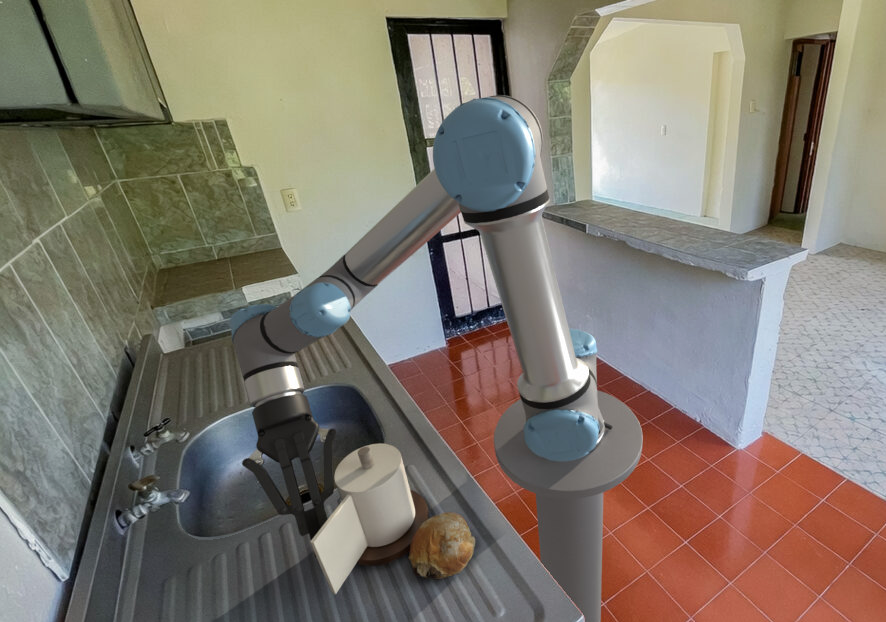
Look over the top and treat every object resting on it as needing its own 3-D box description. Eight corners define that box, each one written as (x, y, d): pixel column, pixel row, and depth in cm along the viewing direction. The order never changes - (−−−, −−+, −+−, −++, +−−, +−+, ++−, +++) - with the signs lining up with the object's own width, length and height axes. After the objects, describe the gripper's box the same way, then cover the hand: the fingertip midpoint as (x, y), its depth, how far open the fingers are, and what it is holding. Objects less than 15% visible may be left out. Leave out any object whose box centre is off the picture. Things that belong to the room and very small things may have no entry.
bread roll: (478, 578, 73) (493, 536, 71) (419, 599, 66) (433, 553, 64) (451, 535, 80) (464, 496, 78) (395, 549, 73) (407, 507, 71)
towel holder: (427, 485, 85) (410, 412, 77) (430, 551, 73) (411, 473, 65) (348, 504, 82) (322, 430, 74) (337, 577, 70) (305, 498, 62)
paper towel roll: (387, 487, 83) (372, 435, 77) (427, 510, 78) (414, 456, 73) (298, 567, 70) (272, 512, 64) (339, 600, 65) (315, 544, 59)
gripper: (325, 392, 77) (367, 530, 72) (235, 419, 71) (274, 573, 66) (323, 382, 71) (368, 534, 66) (223, 412, 64) (266, 581, 60)
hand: (321, 553), depth 66 cm, fingers closed
